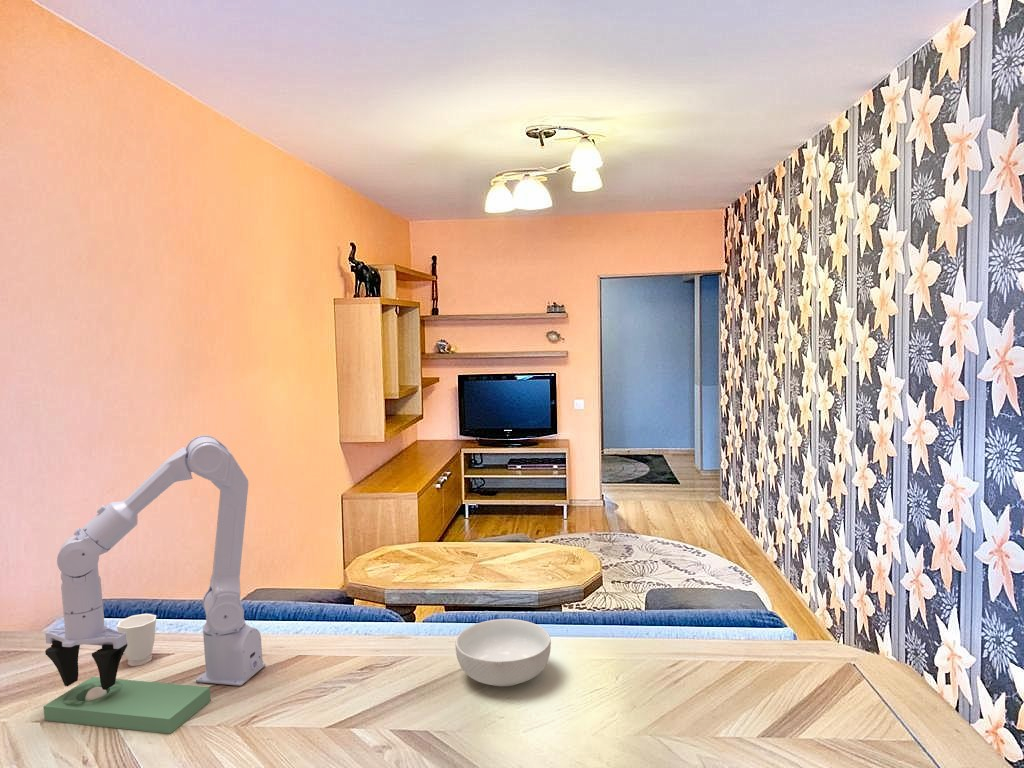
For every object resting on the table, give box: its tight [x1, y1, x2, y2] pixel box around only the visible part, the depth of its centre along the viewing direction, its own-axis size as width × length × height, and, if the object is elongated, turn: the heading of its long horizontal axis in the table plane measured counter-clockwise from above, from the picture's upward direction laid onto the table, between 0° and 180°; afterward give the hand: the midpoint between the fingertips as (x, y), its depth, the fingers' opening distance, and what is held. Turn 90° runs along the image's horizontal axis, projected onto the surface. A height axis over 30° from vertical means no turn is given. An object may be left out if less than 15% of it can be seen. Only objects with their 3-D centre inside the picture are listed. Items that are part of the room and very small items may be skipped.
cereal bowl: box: [454, 618, 552, 688], centre depth 125 cm, size 17×17×7 cm
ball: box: [85, 687, 107, 701], centre depth 119 cm, size 3×3×3 cm
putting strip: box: [43, 676, 212, 735], centre depth 118 cm, size 24×10×2 cm, turn 77°
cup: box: [116, 613, 157, 667], centre depth 137 cm, size 7×10×8 cm
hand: (89, 685), depth 119 cm, fingers open, 7 cm apart
